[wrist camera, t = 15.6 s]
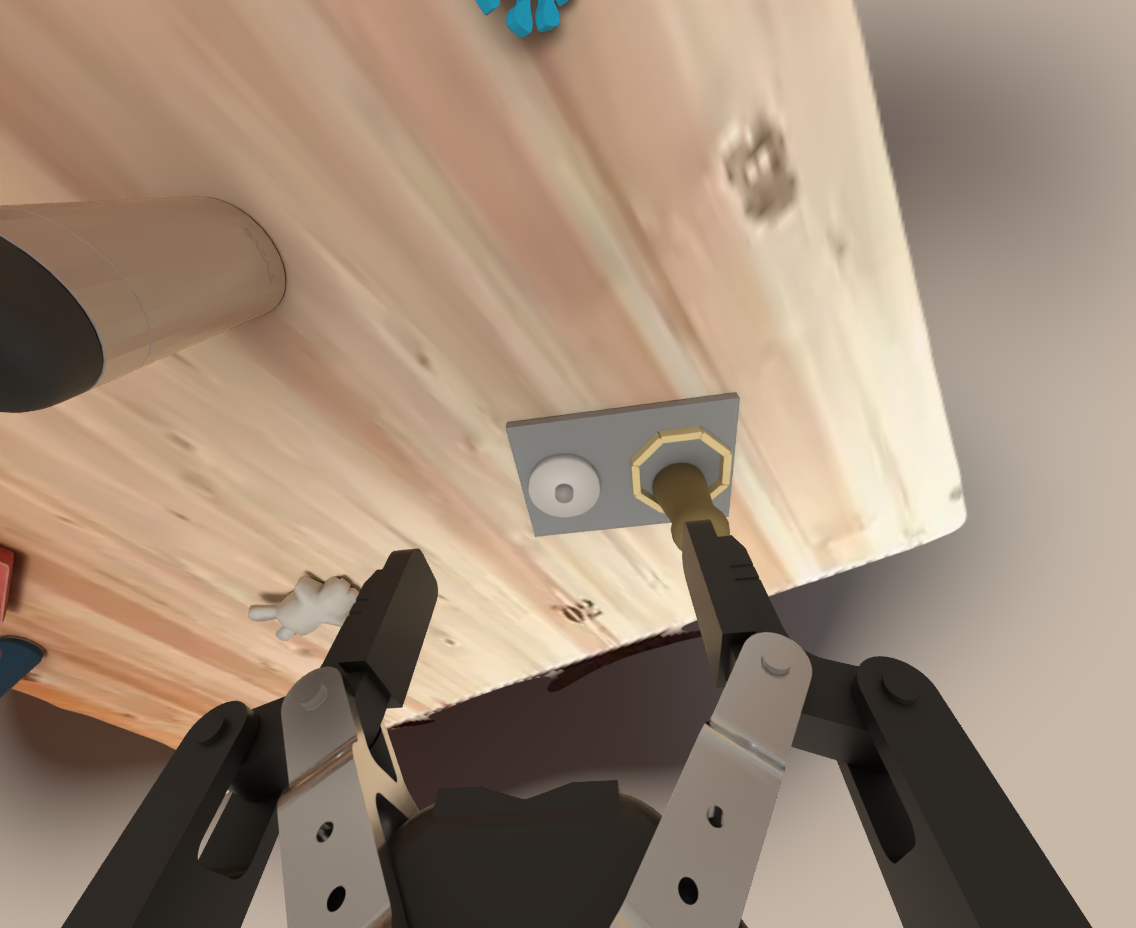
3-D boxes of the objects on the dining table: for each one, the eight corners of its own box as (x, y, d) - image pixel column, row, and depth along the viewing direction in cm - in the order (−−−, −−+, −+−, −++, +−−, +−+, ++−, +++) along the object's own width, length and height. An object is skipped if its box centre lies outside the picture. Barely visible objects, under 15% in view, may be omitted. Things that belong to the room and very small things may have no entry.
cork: (696, 454, 45) (729, 500, 35) (712, 499, 47) (747, 555, 37) (644, 474, 46) (661, 524, 36) (662, 517, 48) (683, 576, 38)
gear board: (535, 530, 53) (533, 551, 50) (507, 422, 44) (502, 440, 41) (725, 510, 51) (735, 530, 48) (735, 392, 42) (748, 409, 39)
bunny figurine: (367, 623, 58) (282, 658, 61) (378, 594, 63) (298, 628, 65) (319, 583, 54) (229, 623, 56) (334, 555, 58) (250, 593, 60)
